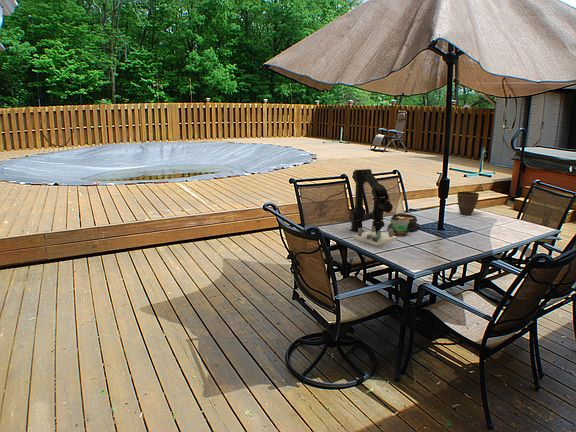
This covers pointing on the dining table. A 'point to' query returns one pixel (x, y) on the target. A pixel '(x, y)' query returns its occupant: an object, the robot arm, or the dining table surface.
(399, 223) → the food container
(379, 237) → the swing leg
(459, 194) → the plant pot
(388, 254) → the dining table surface
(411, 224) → the casserole
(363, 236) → the cream square peg board
